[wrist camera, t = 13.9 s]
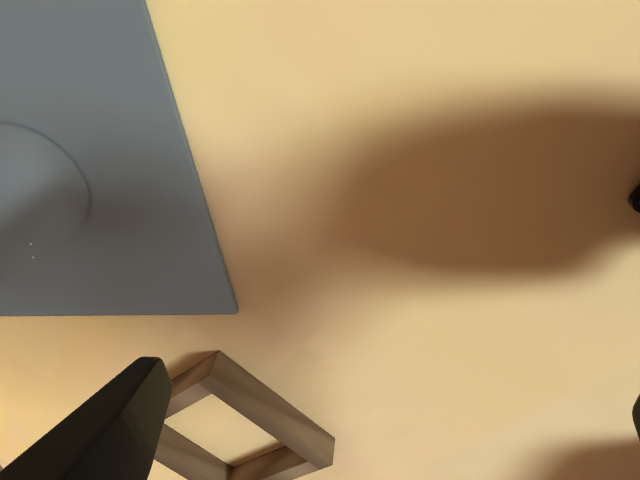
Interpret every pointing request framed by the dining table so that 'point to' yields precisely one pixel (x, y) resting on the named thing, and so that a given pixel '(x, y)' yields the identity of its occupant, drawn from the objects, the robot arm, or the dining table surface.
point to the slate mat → (109, 165)
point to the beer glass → (35, 197)
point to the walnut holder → (259, 407)
